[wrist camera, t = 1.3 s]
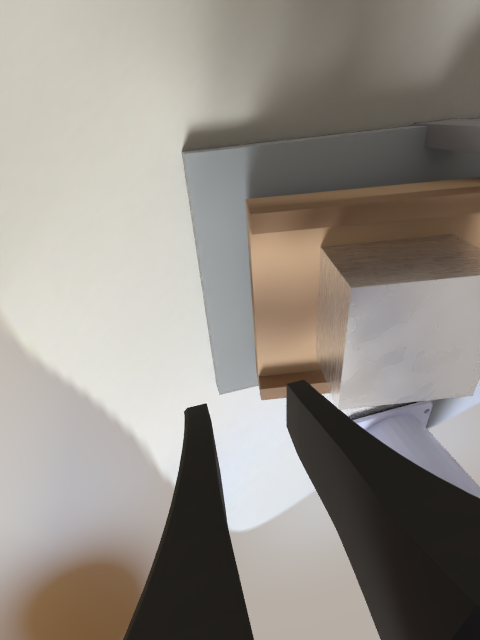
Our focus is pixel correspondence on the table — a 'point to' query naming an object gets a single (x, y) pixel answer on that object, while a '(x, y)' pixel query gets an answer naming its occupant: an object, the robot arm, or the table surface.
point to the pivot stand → (288, 179)
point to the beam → (304, 258)
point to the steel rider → (399, 320)
